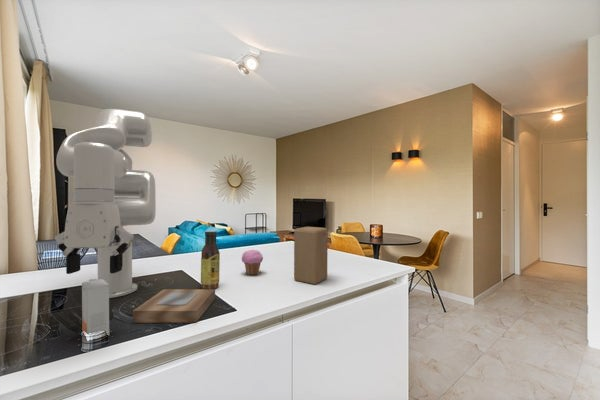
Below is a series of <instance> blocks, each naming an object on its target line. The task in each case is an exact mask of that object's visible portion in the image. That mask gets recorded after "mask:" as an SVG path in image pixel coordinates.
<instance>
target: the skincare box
mask: <svg viewBox="0 0 600 400" xmlns="http://www.w3.org/2000/svg"><path fill="white" fill-rule="evenodd" d="M81 305H82V306H81V311H82V312H81V313H82V314H81V315H82V316H81V317H82V320H81V321H82V322H81V323H82V324H81V325H82V326H81V327H82V331H85V332H86V333H87V334H89V333H93V332H98V331H106V333H107V335H108V336H110V298H109V284H108V283H107V282H106V281H104V280H103V279H100V280H94V281H89V280H88V281H84V282H82V283H81ZM108 336H107V337H108Z"/></svg>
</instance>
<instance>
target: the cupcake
mask: <svg viewBox="0 0 600 400" xmlns="http://www.w3.org/2000/svg"><path fill="white" fill-rule="evenodd" d="M263 260H264V257H263V254H262V253H261V251H259V250H255V249H249V250H246V251H244V252H243V253H242V256H241V262H242V263H244V269H245V272H246V274H247V275H249V276H250V275H252V276H253V275H254V276H255V275H259V273H260V267H261V263H263Z"/></svg>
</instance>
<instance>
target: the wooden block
mask: <svg viewBox="0 0 600 400" xmlns="http://www.w3.org/2000/svg"><path fill="white" fill-rule="evenodd" d="M293 233H294V235H293V239H294V240H293V244H294V245H293V255H294V256H293V259H294V261H293V280H294V281H296V282H302V283H307V284H311V285H318V284H319V283H321V282H323V281H324V280H326V279H327V278H328V245H329V243H328V241H329V239H328V233H329V232H328V228H326V227H318V226H316V227H315V226H303V227H299V228H298V227H297V228H295V229H294V232H293Z"/></svg>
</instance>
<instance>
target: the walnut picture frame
mask: <svg viewBox="0 0 600 400" xmlns="http://www.w3.org/2000/svg"><path fill="white" fill-rule="evenodd" d="M215 300H216V288H214V289H202V288H201V289H199V288H195V289H189V288H188V289H185V288H184V289H179V288H177V289H175V288H174V289H173V288H172V289H171V288H169V289H167V288H166V289H165V288H164V289H162V290H161V291H159V292H157V293H156V294H155V295H154V296H152V297H151V298H149V299H148V300H147V301H145V302H143V303H142V304H141V305H139V306H138V307H137V308H135V309H133V310H132V323H134V324H135V323H141V324H142V323H147V324H149V323H154V324H155V323H157V324H158V323H160V324H161V323H168V324H169V323H174V324H175V323H178V324H179V323H181V324H182V323H189V324H190V323H192V324H193V323H197V322H198V321H199V320H200V319H201V317H202V316H203V315H204V314H205V312H206V311H207V310H208V309H209V307H210V306H211V304H212V303H213V302H214V301H215Z"/></svg>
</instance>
